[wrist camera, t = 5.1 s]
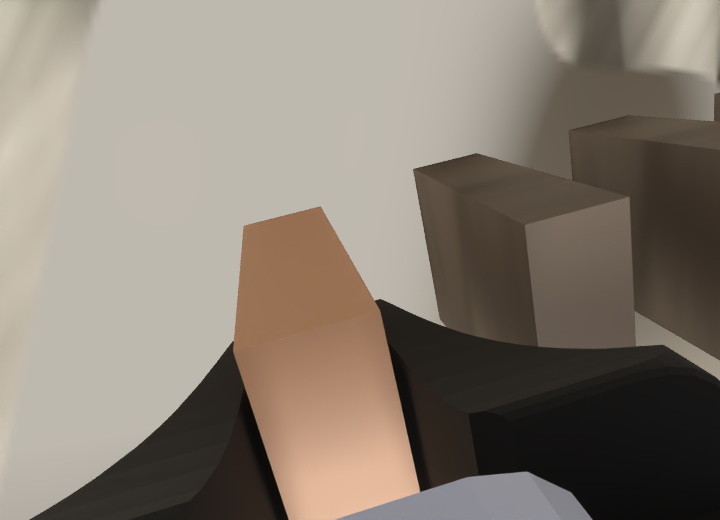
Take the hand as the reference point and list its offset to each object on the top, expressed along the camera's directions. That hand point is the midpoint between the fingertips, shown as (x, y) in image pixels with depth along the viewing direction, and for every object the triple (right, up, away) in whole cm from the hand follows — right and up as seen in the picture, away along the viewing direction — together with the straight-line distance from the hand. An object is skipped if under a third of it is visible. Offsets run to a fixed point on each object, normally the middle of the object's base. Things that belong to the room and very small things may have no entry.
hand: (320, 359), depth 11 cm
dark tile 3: (+9, +4, +6) cm, 11 cm away
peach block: (-1, +1, +3) cm, 3 cm away
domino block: (+4, +3, +5) cm, 7 cm away
